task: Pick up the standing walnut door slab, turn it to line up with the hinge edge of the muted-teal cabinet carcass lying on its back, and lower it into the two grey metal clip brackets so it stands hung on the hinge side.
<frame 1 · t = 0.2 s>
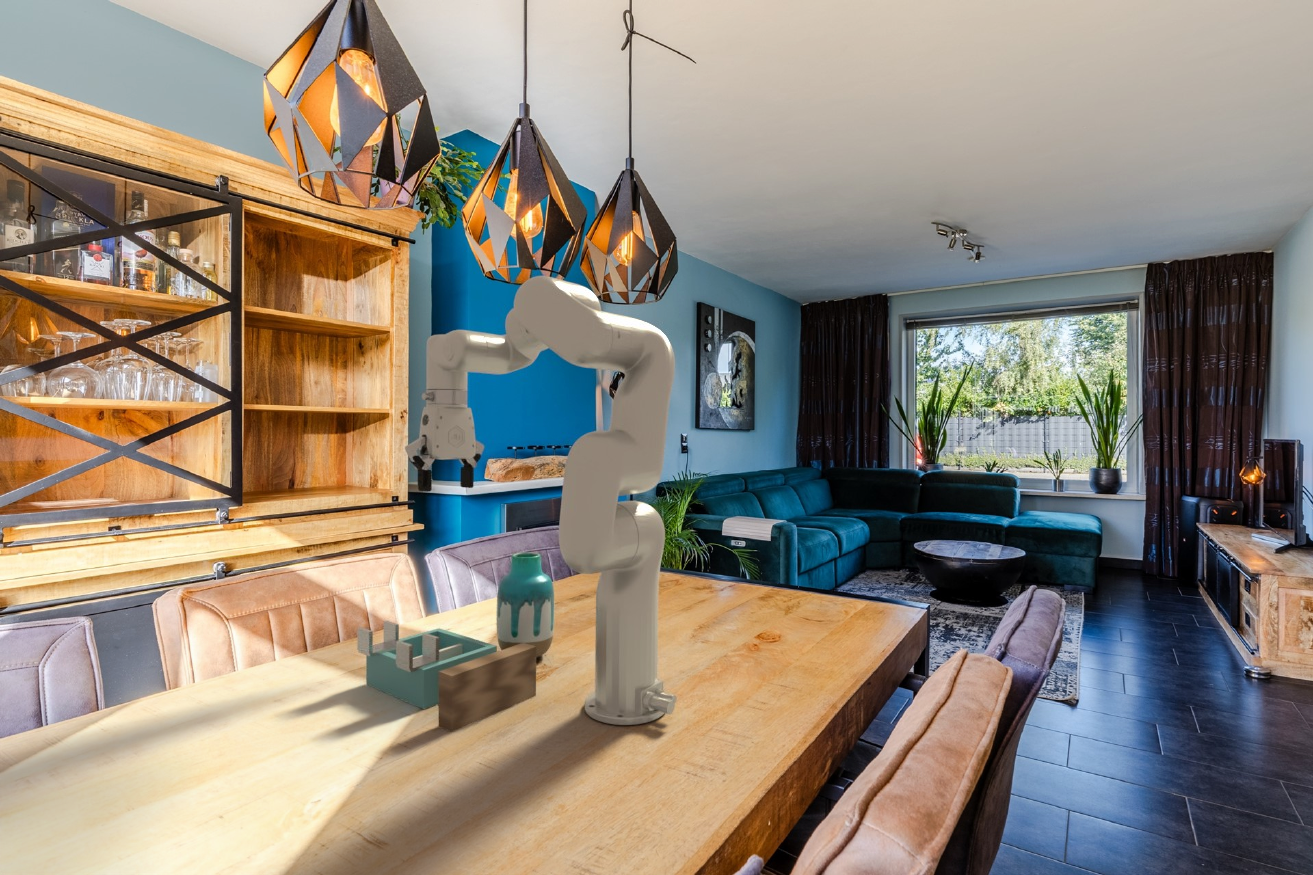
hand: (446, 489, 127), 31 cm above the table, fingers open, 9 cm apart
vase: (525, 658, 123), on the table
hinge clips: (397, 695, 105), resting on carcass
carcass: (432, 682, 110), on the table
door: (489, 710, 100), on the table
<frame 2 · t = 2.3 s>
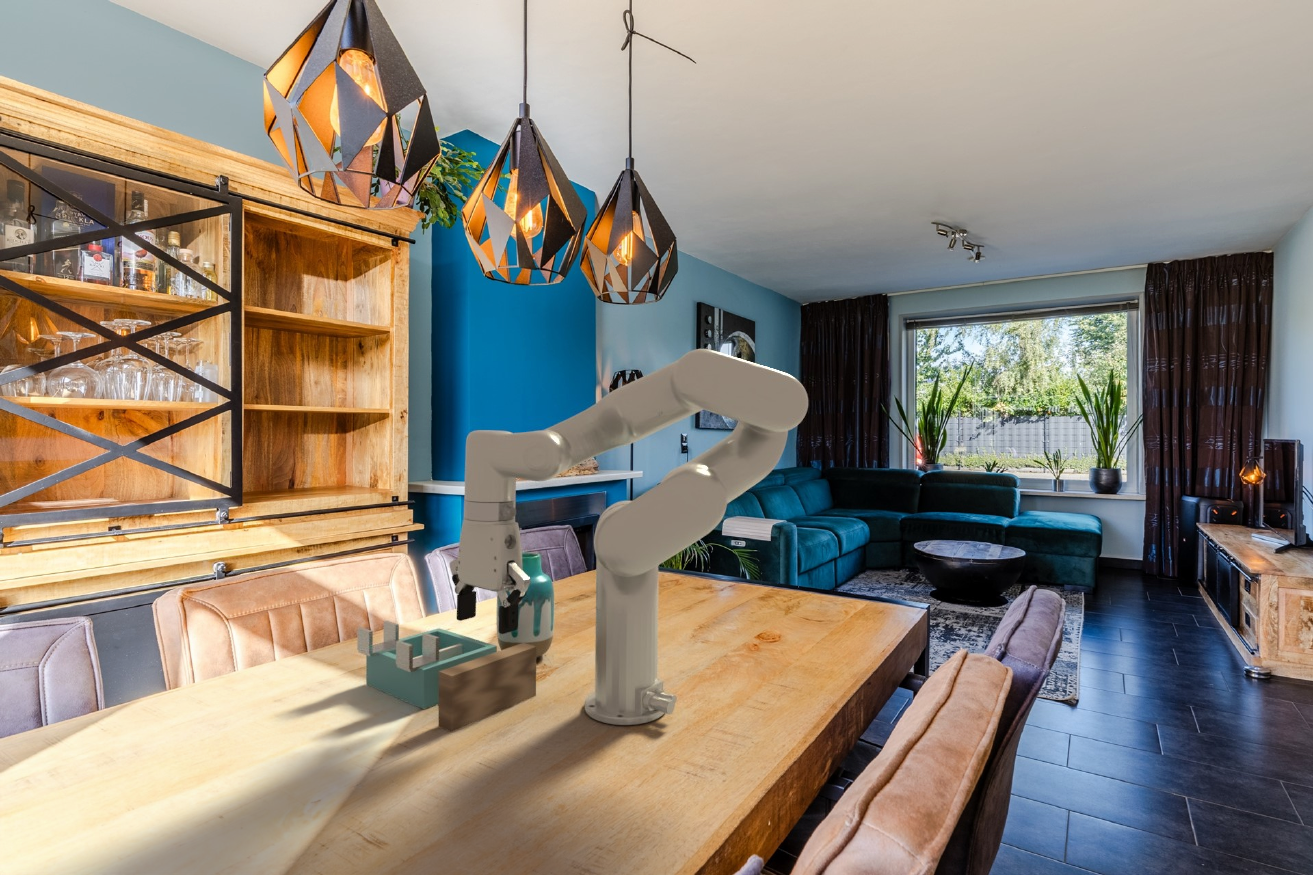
hand: (486, 624, 100), 13 cm above the table, fingers open, 9 cm apart
nothing on the table moved.
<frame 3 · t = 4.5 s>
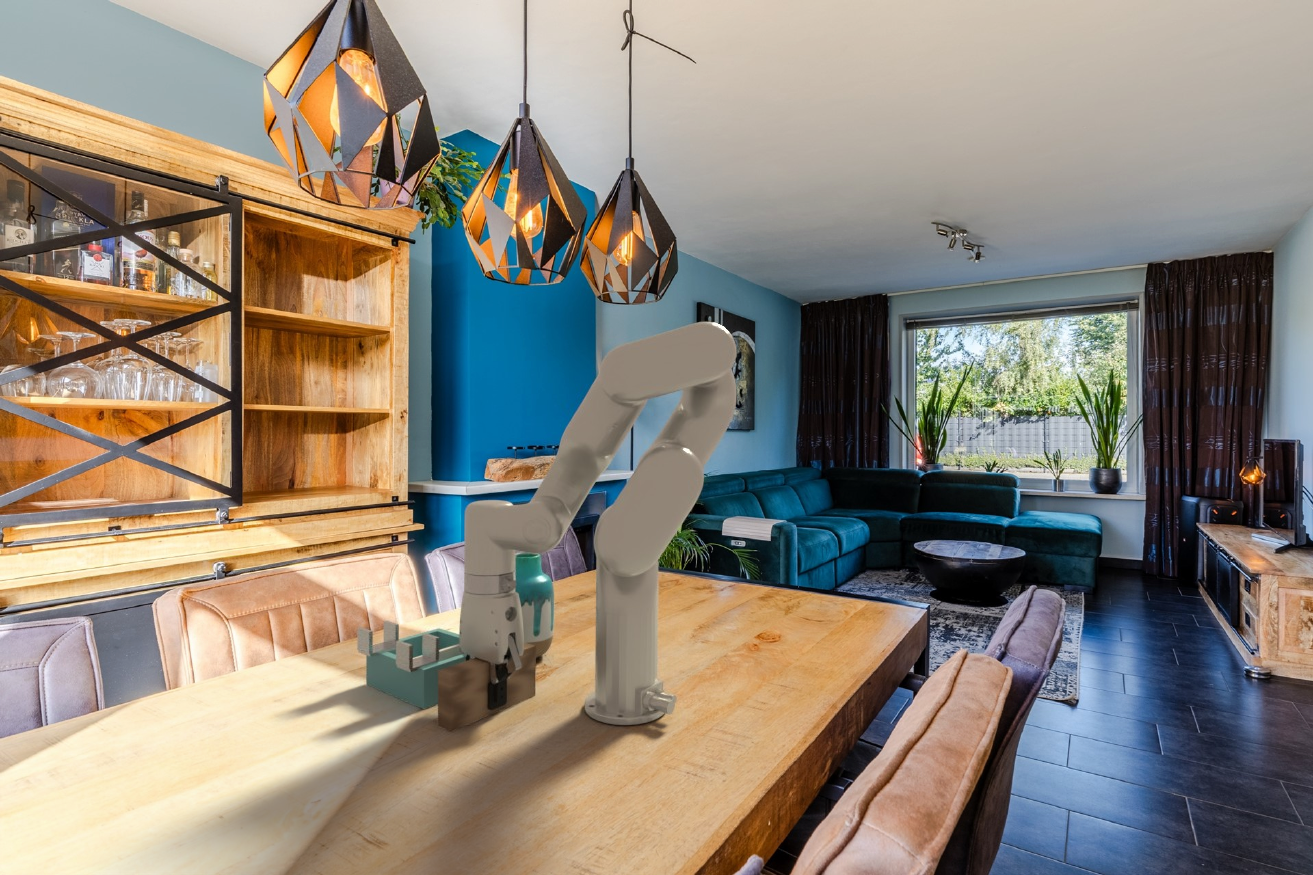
hand: (489, 702, 100), 1 cm above the table, fingers closed on door, 3 cm apart
door: (489, 709, 100), on the table, touching gripper
everything else where it was.
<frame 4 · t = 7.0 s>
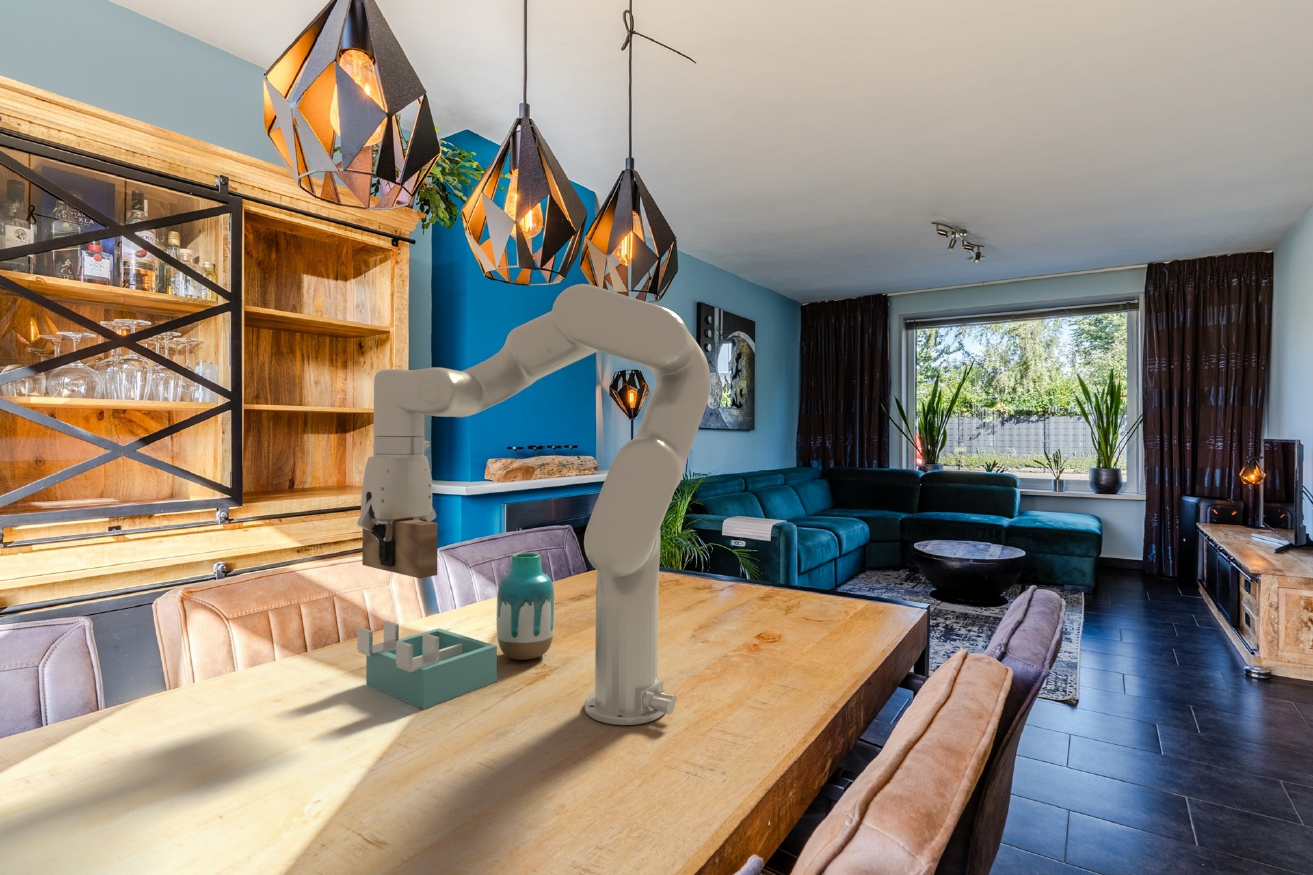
hand: (398, 562, 105), 21 cm above the table, fingers closed on door, 3 cm apart
door: (398, 569, 105), point 20 cm above the table, touching gripper
everything else where it was.
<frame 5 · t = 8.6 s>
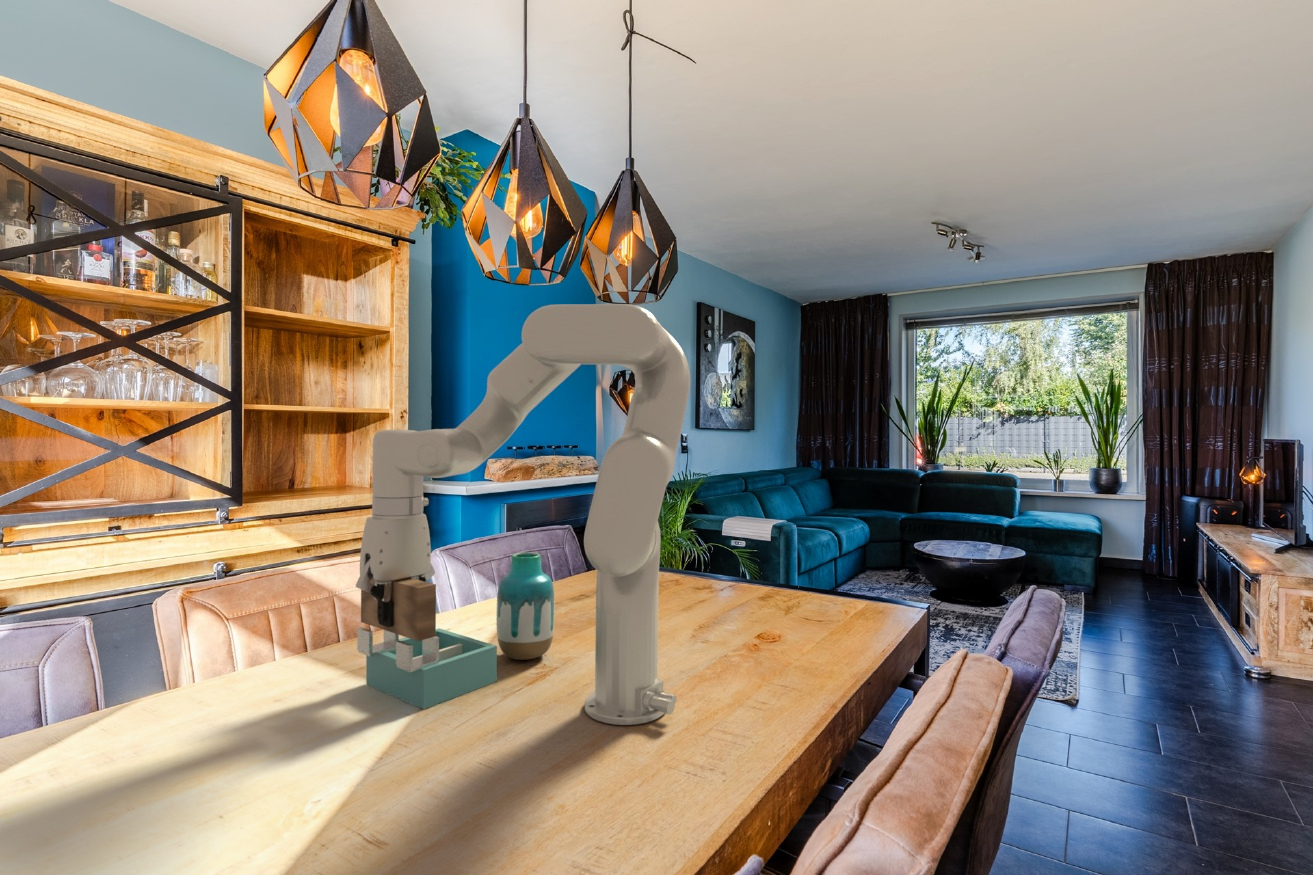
hand: (396, 621, 105), 12 cm above the table, fingers closed on door, 3 cm apart
door: (397, 628, 105), point 11 cm above the table, touching gripper
everything else where it was.
when the fingers open (9 cm above the table, at t = 9.8 s): door drops 2 cm, resting on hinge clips.
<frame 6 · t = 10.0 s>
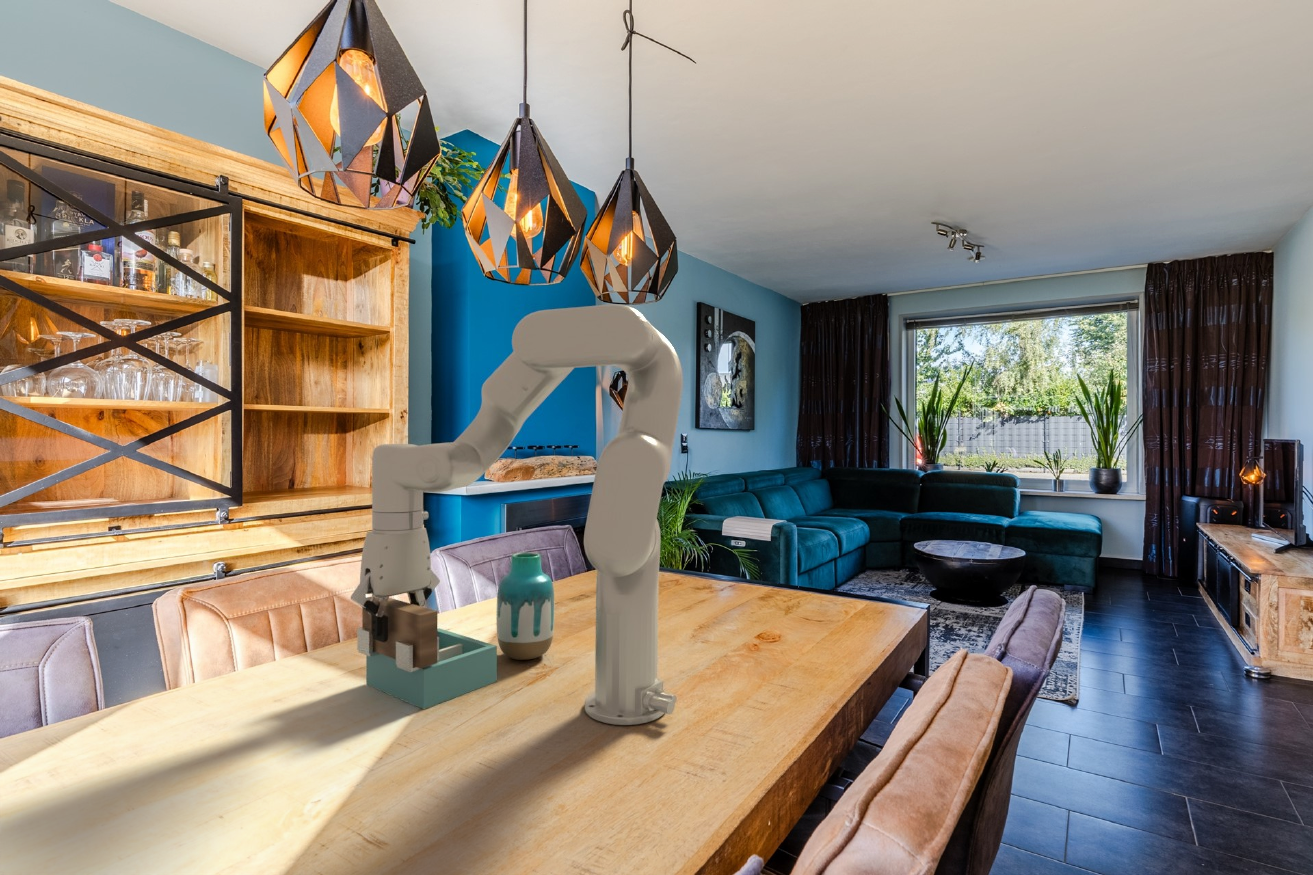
hand: (397, 634, 105), 10 cm above the table, fingers open, 5 cm apart
door: (398, 654, 105), point 6 cm above the table, touching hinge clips
everything else where it was.
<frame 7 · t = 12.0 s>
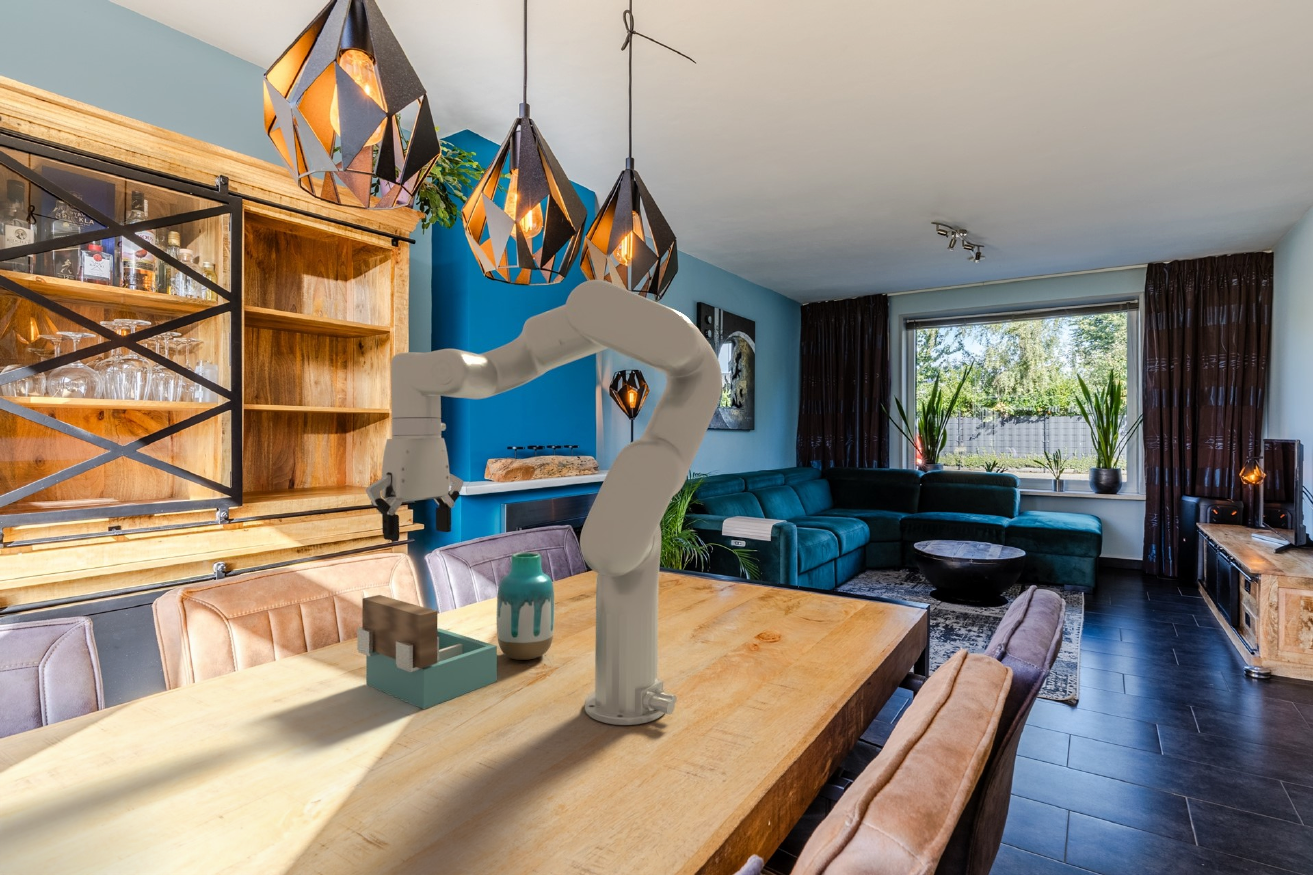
hand: (418, 535, 107), 25 cm above the table, fingers open, 9 cm apart
nothing on the table moved.
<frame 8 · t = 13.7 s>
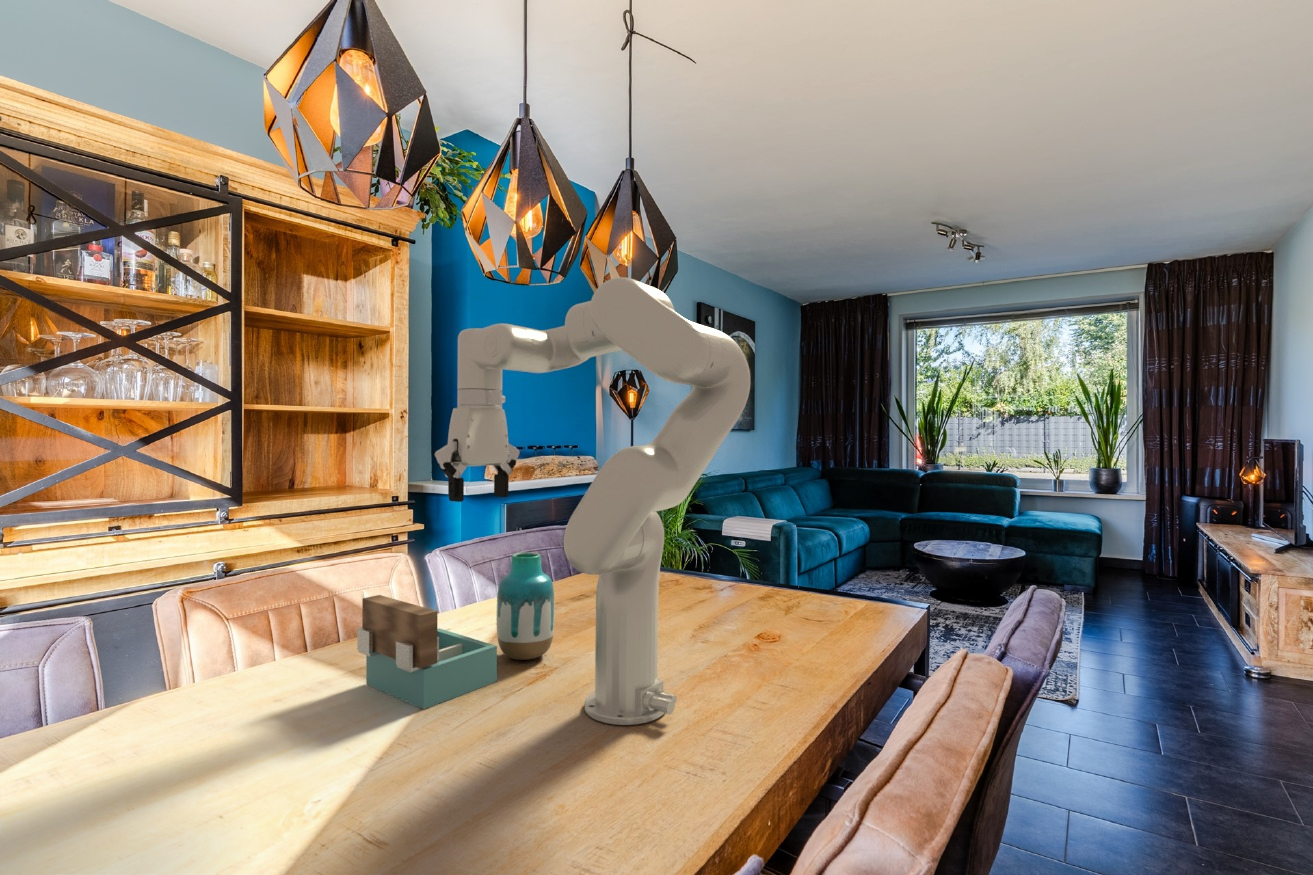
hand: (479, 498, 115), 30 cm above the table, fingers open, 9 cm apart
nothing on the table moved.
at the end: door 0.2 cm off-centre on the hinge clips, point 6.5 cm above the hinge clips's base; door tilted 0°; the gripper is holding nothing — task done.
